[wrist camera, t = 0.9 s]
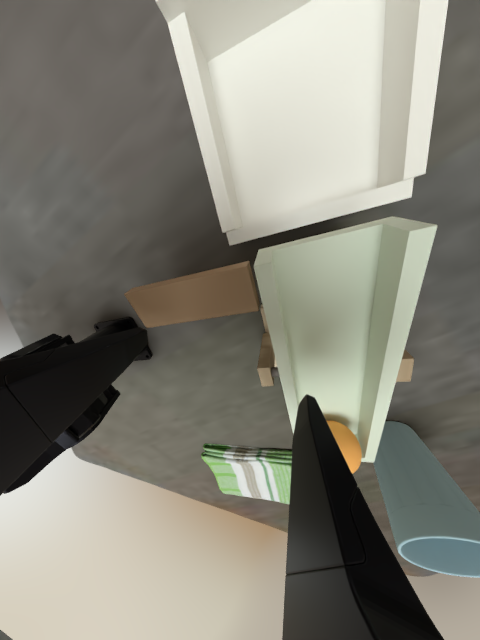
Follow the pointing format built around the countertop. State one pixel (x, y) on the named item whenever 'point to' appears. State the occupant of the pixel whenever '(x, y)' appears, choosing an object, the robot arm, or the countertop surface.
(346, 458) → the ball
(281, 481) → the dish towel
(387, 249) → the lever
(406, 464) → the cup
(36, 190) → the countertop surface
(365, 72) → the bin
